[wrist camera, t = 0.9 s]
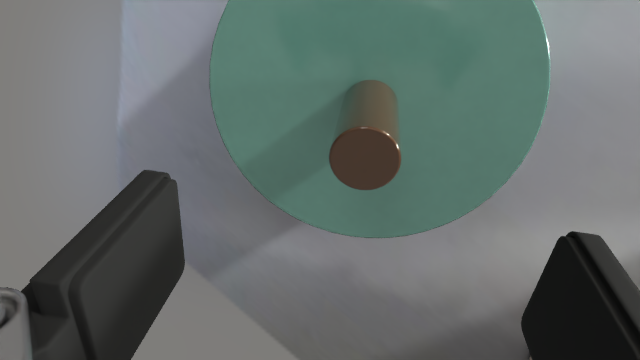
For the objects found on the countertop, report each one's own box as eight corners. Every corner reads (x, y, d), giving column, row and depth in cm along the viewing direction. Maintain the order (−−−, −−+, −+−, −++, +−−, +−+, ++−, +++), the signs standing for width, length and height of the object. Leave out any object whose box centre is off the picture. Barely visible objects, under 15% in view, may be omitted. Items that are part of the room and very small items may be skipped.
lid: (209, -107, 16) (124, -123, 11) (602, -70, 15) (714, -68, 10) (222, 205, 24) (175, 283, 18) (486, 244, 22) (516, 339, 17)
